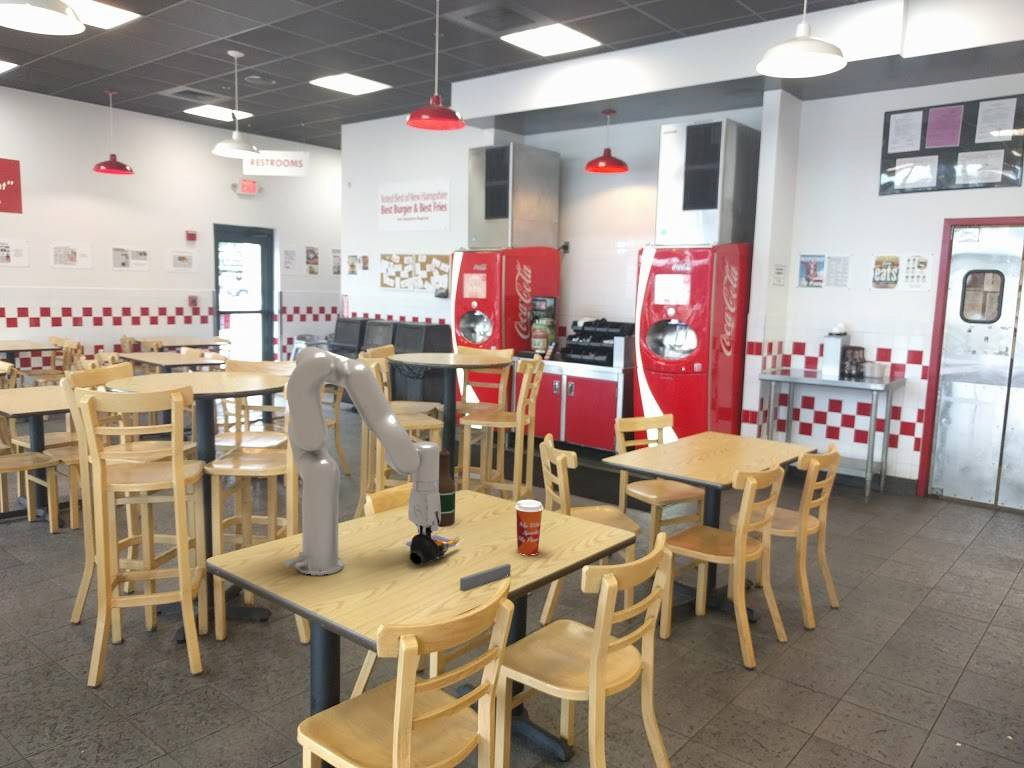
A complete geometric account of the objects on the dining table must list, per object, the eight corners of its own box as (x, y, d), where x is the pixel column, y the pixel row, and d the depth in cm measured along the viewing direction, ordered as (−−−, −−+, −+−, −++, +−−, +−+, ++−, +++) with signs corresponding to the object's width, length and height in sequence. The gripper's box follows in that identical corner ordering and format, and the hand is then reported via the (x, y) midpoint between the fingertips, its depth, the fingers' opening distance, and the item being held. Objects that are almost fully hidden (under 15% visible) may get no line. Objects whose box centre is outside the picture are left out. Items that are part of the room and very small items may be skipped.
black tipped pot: (395, 548, 211) (427, 512, 226) (415, 581, 214) (445, 543, 229) (419, 543, 206) (451, 506, 221) (439, 576, 209) (468, 537, 224)
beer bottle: (453, 527, 246) (455, 454, 243) (429, 526, 246) (430, 453, 243) (455, 520, 254) (457, 449, 250) (432, 519, 254) (433, 448, 251)
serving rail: (463, 590, 196) (463, 579, 195) (460, 589, 197) (460, 578, 196) (510, 575, 207) (510, 564, 207) (507, 573, 208) (507, 563, 207)
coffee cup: (518, 558, 220) (519, 507, 218) (510, 548, 228) (512, 499, 226) (545, 556, 222) (547, 506, 220) (537, 546, 230) (539, 498, 228)
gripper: (399, 481, 222) (399, 542, 224) (431, 492, 211) (430, 556, 213) (420, 477, 227) (419, 537, 229) (452, 488, 216) (451, 550, 218)
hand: (424, 546), depth 221 cm, fingers closed
